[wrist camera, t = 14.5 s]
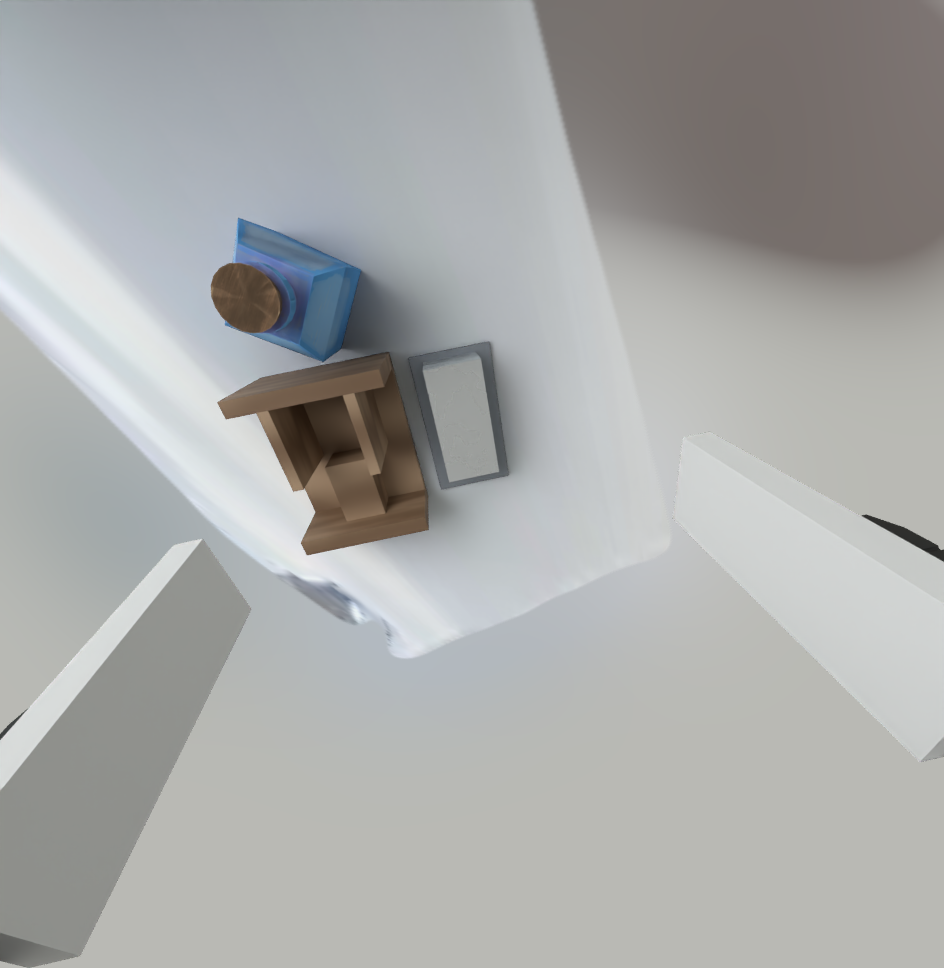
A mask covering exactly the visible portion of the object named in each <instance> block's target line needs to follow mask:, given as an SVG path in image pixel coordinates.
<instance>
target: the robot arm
mask: <svg viewBox="0 0 944 968" xmlns="http://www.w3.org/2000/svg"><path fill="white" fill-rule="evenodd" d="M673 520H674V521H676V522H677V523H678V524H679V525H680V526H681V527H682V528H683V529H684V530H685V531H686V532H687V533H688V534H689V535H690V536H691V537H692V538H693V539H694V540H695V541H696V542H697V543H698V544H699V545H700V546H701V547H702V548H703V549H704V550H705V551H706V552H707V553H708V554H709V555H710V556H711V557H712V558H713V559H714V560H715V561H716V562H717V563H718V564H719V565H720V566H721V567H722V568H723V569H724V570H725V571H726V572H727V573H728V574H729V575H730V576H731V577H732V578H733V579H734V580H736V582H738V584H739V585H741V587H743V588H744V589H745V590H746V591H747V592H748V593H749V594H750V595H751V596H752V597H753V598H754V599H755V600H756V601H757V602H758V603H759V604H760V605H761V606H762V607H763V608H764V609H765V610H766V611H767V612H768V613H769V614H770V615H771V616H772V617H773V618H774V619H775V620H776V621H777V622H778V623H779V624H780V625H781V626H782V627H783V628H784V629H785V630H786V631H787V632H788V633H789V634H790V635H791V636H792V637H793V638H795V640H796V641H798V643H799V644H800V645H801V646H802V647H803V648H804V649H806V650H807V651H808V653H809V654H811V655H812V656H813V657H814V658H815V659H816V660H817V661H818V662H819V663H820V664H821V665H822V666H823V667H824V668H825V669H826V670H827V671H828V672H829V673H830V674H831V675H832V676H833V677H834V678H835V679H836V680H837V681H838V682H839V683H840V684H841V685H842V686H843V687H844V688H845V689H846V690H847V691H848V692H849V693H850V694H851V695H852V696H853V697H854V698H855V699H856V700H857V701H858V702H859V703H860V704H861V705H862V706H863V707H865V709H866V710H868V712H869V713H870V714H871V715H872V716H873V717H875V719H876V720H878V721H879V722H880V723H881V724H882V725H883V726H884V727H885V728H886V729H887V730H888V731H889V732H890V733H891V734H892V735H893V736H894V737H895V738H896V739H897V740H898V741H899V742H900V743H901V744H902V745H903V746H904V747H905V748H906V749H907V750H908V751H909V752H910V753H911V754H912V755H913V756H914V757H915V758H916V759H917V760H918V761H919V762H923V761H927V760H931V759H936V758H940V757H944V550H940V549H939V548H938V545H936V544H934V543H932V542H930V541H929V540H926V539H925V538H923V537H921V536H919V535H917V534H915V533H913V532H912V531H910V530H908V529H906V528H904V527H901V526H898V525H895V524H892V523H889V522H886V521H884V520H881V519H878V518H875V517H872V516H869V515H862V516H861V515H859V514H857V513H855V512H853V511H852V510H850V509H848V508H846V507H844V506H843V505H841V504H839V503H837V502H835V501H834V500H832V499H830V498H828V497H826V496H824V495H823V494H821V493H819V492H817V491H815V490H814V489H812V488H810V487H809V486H807V485H805V484H803V483H801V482H800V481H798V480H796V479H794V478H792V477H791V476H789V475H787V474H785V473H783V472H782V471H780V470H778V469H776V468H774V467H773V466H771V465H769V464H767V463H766V462H764V461H762V460H760V459H758V458H757V457H755V456H753V455H751V454H749V453H747V452H746V451H744V450H742V449H740V448H739V447H737V446H735V445H733V444H731V443H730V442H728V441H726V440H724V439H723V438H721V437H719V436H717V435H715V434H714V433H712V432H706V433H701V434H697V435H691V436H687V437H683V440H682V447H681V455H680V463H679V472H678V479H677V486H676V494H675V502H674V510H673ZM250 611H251V608H250V606H249V605H248V603H247V602H246V600H245V599H244V598H243V596H242V595H241V593H240V592H239V590H238V589H237V587H236V586H235V584H234V583H233V582H232V580H231V579H230V577H229V576H228V574H227V573H226V571H225V570H224V569H223V567H222V566H221V564H220V563H219V561H218V560H217V558H216V557H215V556H214V554H213V553H212V551H211V550H210V548H209V547H208V546H207V544H206V543H205V541H204V540H203V539H200V540H195V541H190V542H185V543H181V544H176V545H174V546H173V547H172V548H171V549H170V550H169V551H168V552H167V553H166V555H165V556H164V557H163V558H162V559H161V560H160V561H159V562H158V564H157V565H156V566H155V567H154V568H153V569H152V570H151V571H150V573H149V574H148V575H147V576H146V577H145V578H144V579H143V580H142V582H141V583H140V584H139V585H138V586H137V587H136V588H135V589H134V591H133V592H132V593H131V594H130V595H129V596H128V598H126V600H125V601H124V602H123V603H122V604H121V605H120V606H119V607H118V608H117V610H116V611H115V612H114V613H113V614H112V615H111V616H110V617H109V619H108V620H107V621H106V622H105V623H104V624H103V625H102V626H101V628H100V629H99V630H98V631H97V632H96V633H95V635H93V637H92V638H91V639H90V640H89V641H88V642H87V643H86V644H85V646H84V647H83V648H82V649H81V650H80V651H79V652H78V653H77V655H76V656H75V657H74V658H73V659H72V660H71V661H70V663H69V664H68V665H67V666H66V667H65V668H64V669H63V670H62V671H61V673H60V674H59V675H58V676H57V677H56V678H55V679H54V680H53V681H52V683H51V684H50V685H49V686H48V687H47V688H46V690H44V692H43V693H42V694H41V695H40V696H39V697H38V698H37V699H36V701H35V702H34V703H33V704H32V705H31V706H30V707H29V708H28V709H27V710H26V711H25V712H23V713H22V714H21V715H20V716H18V717H17V718H16V719H15V720H14V721H13V722H11V723H10V724H9V725H8V726H7V728H5V729H4V731H3V732H2V733H1V734H0V961H3V962H7V963H12V964H15V965H19V966H23V967H27V968H30V967H35V966H39V965H43V964H48V963H52V962H57V961H61V960H65V959H70V958H74V957H78V956H80V955H81V953H82V951H83V949H84V947H85V945H86V943H87V941H88V939H89V937H90V935H91V933H92V931H93V929H94V927H95V925H96V923H97V921H98V919H99V917H100V915H101V913H102V911H103V909H104V907H105V905H106V903H107V900H108V899H109V897H110V895H111V892H112V891H113V889H114V887H115V885H116V883H117V881H118V879H119V877H120V875H121V872H122V870H123V868H124V866H125V864H126V862H127V860H128V858H129V856H130V854H131V852H132V850H133V848H134V846H135V844H136V842H137V840H138V838H139V836H140V834H141V832H142V830H143V828H144V826H145V824H146V822H147V820H148V818H149V816H150V814H151V812H152V810H153V808H154V806H155V804H156V802H157V800H158V797H159V796H160V793H161V791H162V789H163V787H164V785H165V783H166V781H167V779H168V777H169V775H170V773H171V771H172V769H173V767H174V765H175V763H176V761H177V759H178V757H179V755H180V753H181V751H182V749H183V747H184V745H185V743H186V741H187V739H188V737H189V735H190V733H191V731H192V729H193V727H194V725H195V723H196V720H197V719H198V717H199V715H200V713H201V711H202V709H203V707H204V704H205V702H206V700H207V698H208V696H209V694H210V692H211V690H212V688H213V686H214V684H215V682H216V680H217V678H218V676H219V674H220V672H221V670H222V668H223V666H224V664H225V662H226V660H227V658H228V656H229V654H230V652H231V650H232V648H233V646H234V644H235V642H236V640H237V638H238V636H239V634H240V632H241V630H242V628H243V625H244V623H245V621H246V619H247V617H248V615H249V613H250Z"/></svg>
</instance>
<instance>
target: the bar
mask: <svg viewBox="0 0 944 968" xmlns="http://www.w3.org/2000/svg"><path fill="white" fill-rule="evenodd" d="M423 374H424V378H425V383H426V387H427V391H428V395H429V399H430V404H431V408H432V412H433V416H434V420H435V425H436V429H437V433H438V437H439V441H440V446H441V450H442V454H443V458H444V462H445V467H446V471H447V475H448V479H449V482H453V481H458V480H463V479H467V478H472V477H477V476H482V475H486V474H491V473H496V472H499V468H498V461H497V455H496V449H495V443H494V437H493V431H492V424H491V418H490V412H489V406H488V400H487V393H486V387H485V381H484V375H483V369H482V362H481V358H480V357H479V355H478V354H477V353H476V352H471V353H467V354H462V355H457V356H452V357H447V358H442V359H438V360H433V361H428V362H423Z"/></svg>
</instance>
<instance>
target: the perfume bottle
mask: <svg viewBox="0 0 944 968" xmlns="http://www.w3.org/2000/svg"><path fill="white" fill-rule="evenodd" d="M360 272H361V270H360V269H358V268H356V267H354V266H351V265H349V264H347V263H345V262H343V261H340V260H338V259H336V258H334V257H331V256H329V255H327V254H325V253H323V252H320V251H318V250H316V249H314V248H312V247H309V246H307V245H305V244H303V243H301V242H298V241H296V240H294V239H292V238H289V237H287V236H285V235H283V234H281V233H278V232H276V231H274V230H271V229H268V228H265V227H262V226H260V225H257V224H254V223H251V222H248V221H245V220H243V219H240V218H238V224H237V232H236V240H235V248H234V256H233V263H229V264H227V265H225V266H223V267H221V268H219V270H218V271H217V272H216V273H215V275H214V276H213V280H212V283H211V297H212V299H213V302H214V305H215V308H216V309H217V311H218V312H219V313H220V315H221V316H222V318H223V319H224V320H225V325H226V326H229V327H231V328H234V329H237V330H239V331H242V332H245V333H247V334H250V335H253V336H255V337H258V338H261V339H263V340H266V341H269V342H271V343H274V344H277V345H279V346H282V347H285V348H287V349H290V350H293V351H295V352H298V353H301V354H303V355H306V356H309V357H311V358H314V359H317V360H319V361H322V362H324V361H325V360H327V359H328V358H329V357H331V356H332V355H333V354H335V353H336V352H337V351H338V350H340V349H341V347H342V343H343V339H344V335H345V331H346V327H347V323H348V319H349V315H350V311H351V307H352V303H353V299H354V295H355V292H356V288H357V284H358V280H359V276H360Z"/></svg>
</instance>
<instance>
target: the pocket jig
mask: <svg viewBox="0 0 944 968" xmlns="http://www.w3.org/2000/svg"><path fill="white" fill-rule="evenodd" d="M217 403H218V405H219V407H220V409H221V411H222V413H223V415H224V416H225V418H226V419H230V418H235V417H240V416H245V415H250V414H255V413H256V414H257V416H258V418H259V420H260V422H261V424H262V426H263V428H264V430H265V433H266V435H267V437H268V439H269V441H270V443H271V445H272V447H273V449H274V452H275V454H276V456H277V458H278V460H279V462H280V464H281V466H282V469H283V471H284V473H285V475H286V477H287V479H288V481H289V483H290V485H291V488H292V490H293V492H294V491H299V490H304V488H305V490H306V492H307V494H308V496H309V499H310V501H311V503H312V505H313V507H314V510H315V512H316V513H315V515H314V517H313V519H312V521H311V523H310V525H309V527H308V529H307V531H306V533H305V535H304V538H303V540H302V542H301V544H302V546H303V548H304V550H305V552H306V554H307V555H311V554H316V553H321V552H325V551H330V550H335V549H340V548H344V547H349V546H354V545H359V544H363V543H368V542H373V541H378V540H383V539H387V538H392V537H397V536H402V535H406V534H411V533H416V532H421V531H425V530H429V525H428V494H427V490H426V487H425V483H424V479H423V476H422V472H421V468H420V464H419V461H418V457H417V453H416V450H415V446H414V442H413V439H412V435H411V431H410V428H409V424H408V420H407V417H406V413H405V409H404V406H403V402H402V398H401V395H400V391H399V387H398V384H397V380H396V376H395V373H394V369H393V365H392V362H391V358H390V354H389V352H385V353H380V354H375V355H370V356H365V357H360V358H356V359H351V360H346V361H341V362H336V363H331V364H326V365H321V366H316V367H311V368H307V369H302V370H297V371H292V372H287V373H282V374H277V375H272V376H267V377H262V378H260V379H258V380H256V381H254V382H252V383H251V384H249V385H247V386H245V387H244V388H242V389H240V390H238V391H236V392H235V393H233V394H231V395H229V396H228V397H226V398H224V399H222V400H221V401H219V402H217Z"/></svg>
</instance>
